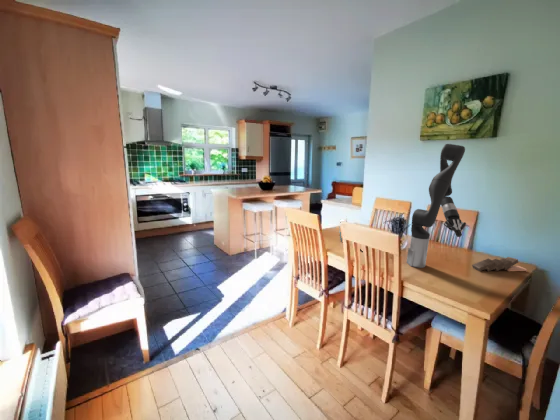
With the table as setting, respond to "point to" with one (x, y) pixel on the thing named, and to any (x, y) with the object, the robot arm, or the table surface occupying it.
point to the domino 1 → (484, 264)
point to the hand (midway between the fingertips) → (459, 236)
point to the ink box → (343, 220)
